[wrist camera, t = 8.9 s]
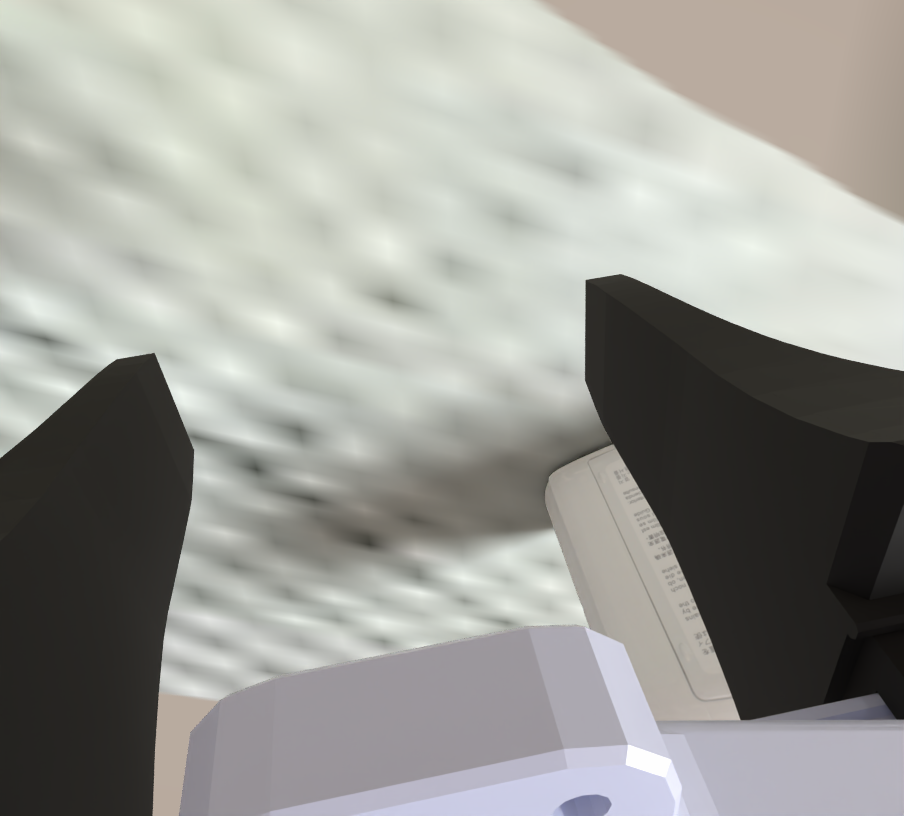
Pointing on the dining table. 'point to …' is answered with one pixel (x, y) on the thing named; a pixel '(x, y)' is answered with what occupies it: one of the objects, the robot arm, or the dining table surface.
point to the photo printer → (636, 587)
